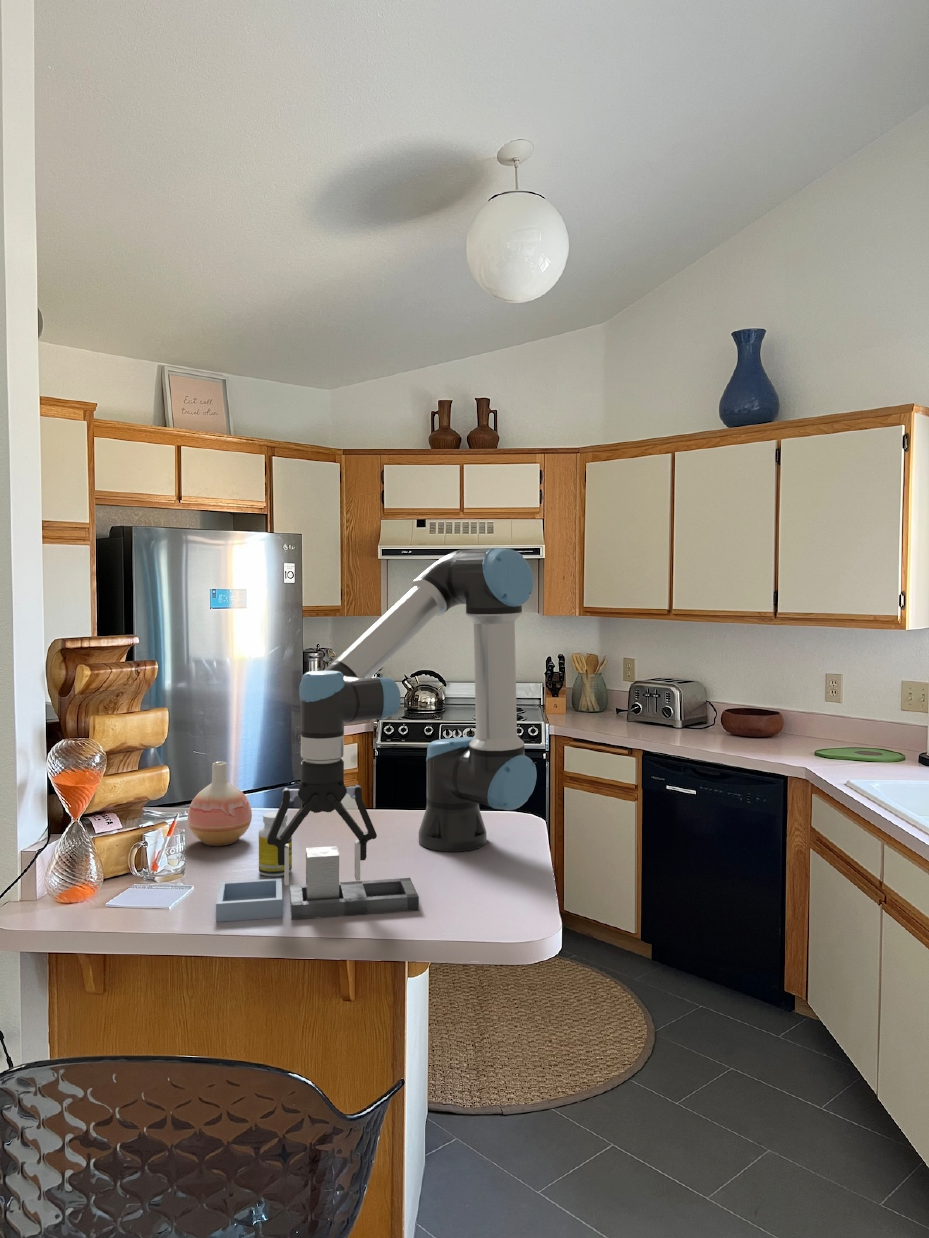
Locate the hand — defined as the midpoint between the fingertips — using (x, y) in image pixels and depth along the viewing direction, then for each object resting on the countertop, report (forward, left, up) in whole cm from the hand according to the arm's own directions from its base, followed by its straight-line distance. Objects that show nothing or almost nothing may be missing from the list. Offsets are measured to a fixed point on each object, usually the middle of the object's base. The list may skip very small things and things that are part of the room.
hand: (322, 880), depth 157 cm
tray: (+12, -2, -5) cm, 14 cm away
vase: (+20, -44, -5) cm, 48 cm away
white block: (0, 0, -5) cm, 5 cm away
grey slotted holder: (-6, 0, -5) cm, 7 cm away
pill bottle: (+8, -21, -5) cm, 23 cm away
